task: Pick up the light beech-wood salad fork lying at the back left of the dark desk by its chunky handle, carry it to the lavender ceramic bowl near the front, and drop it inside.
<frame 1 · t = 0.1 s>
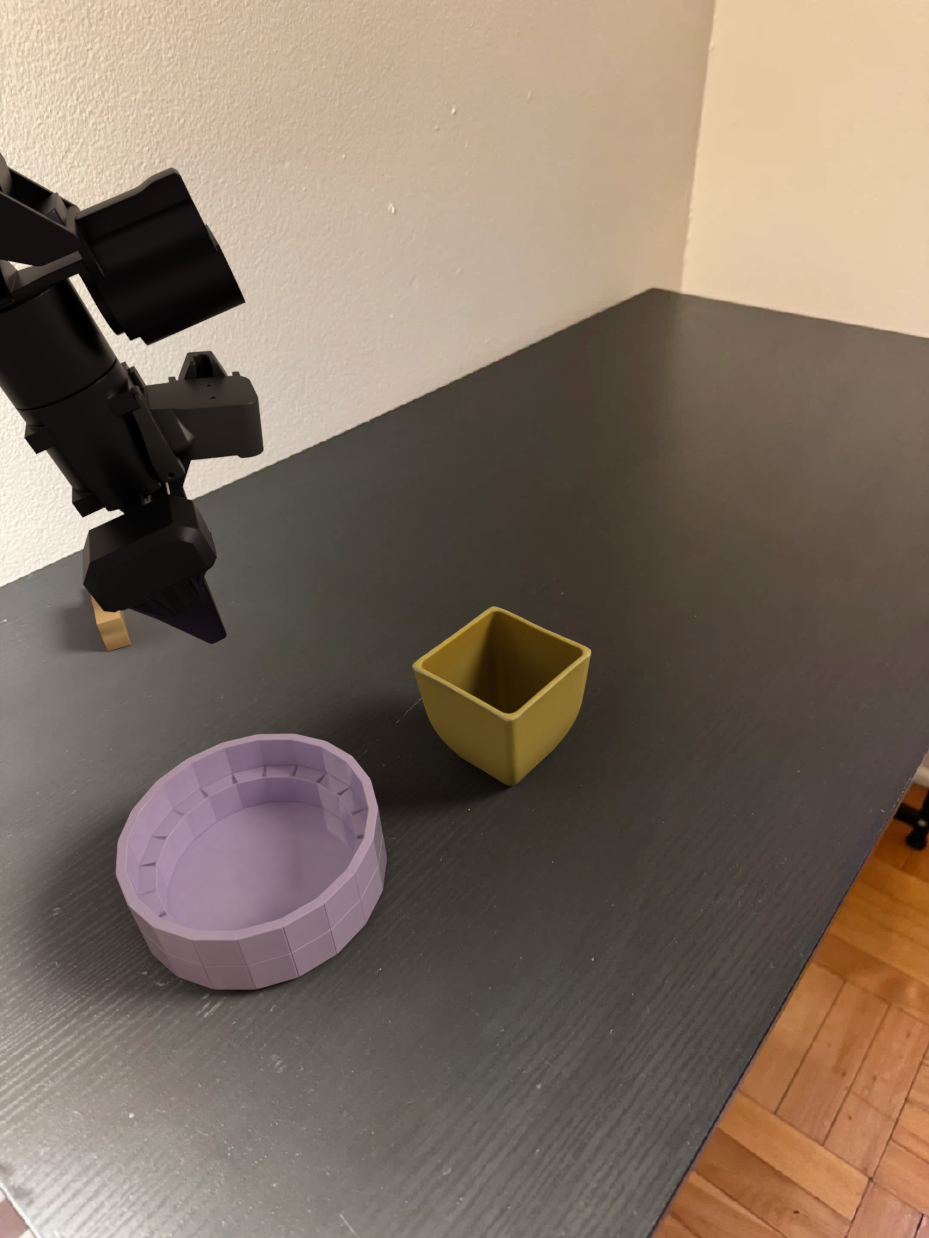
hand: (209, 598, 54), 14 cm above the table, tool pointing down, fingers open, 9 cm apart
fork: (112, 615, 78), on the table
flower pot: (505, 754, 61), on the table
bowl: (267, 880, 53), on the table
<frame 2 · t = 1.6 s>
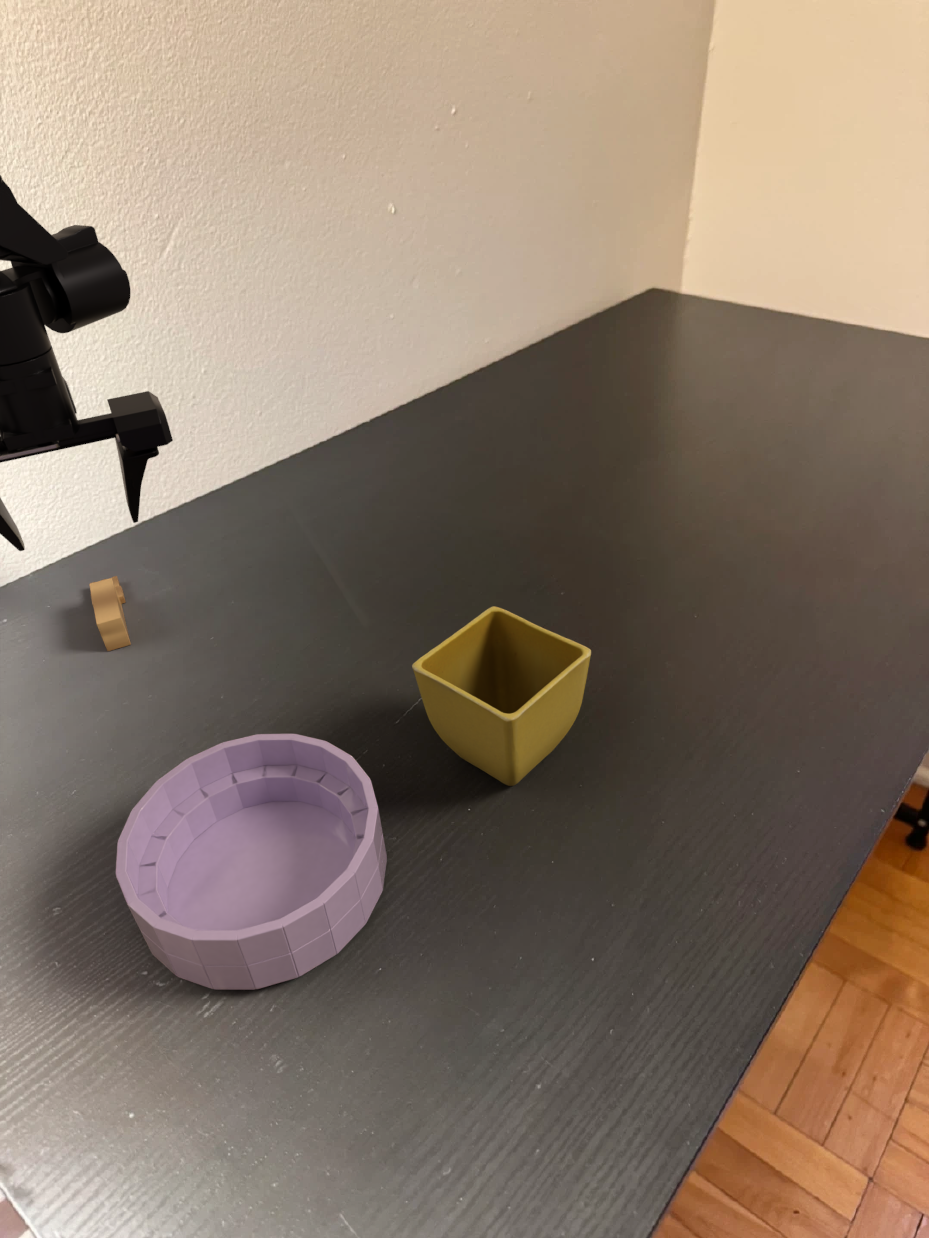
hand: (79, 534, 72), 9 cm above the table, tool pointing down, fingers open, 9 cm apart
nothing on the table moved.
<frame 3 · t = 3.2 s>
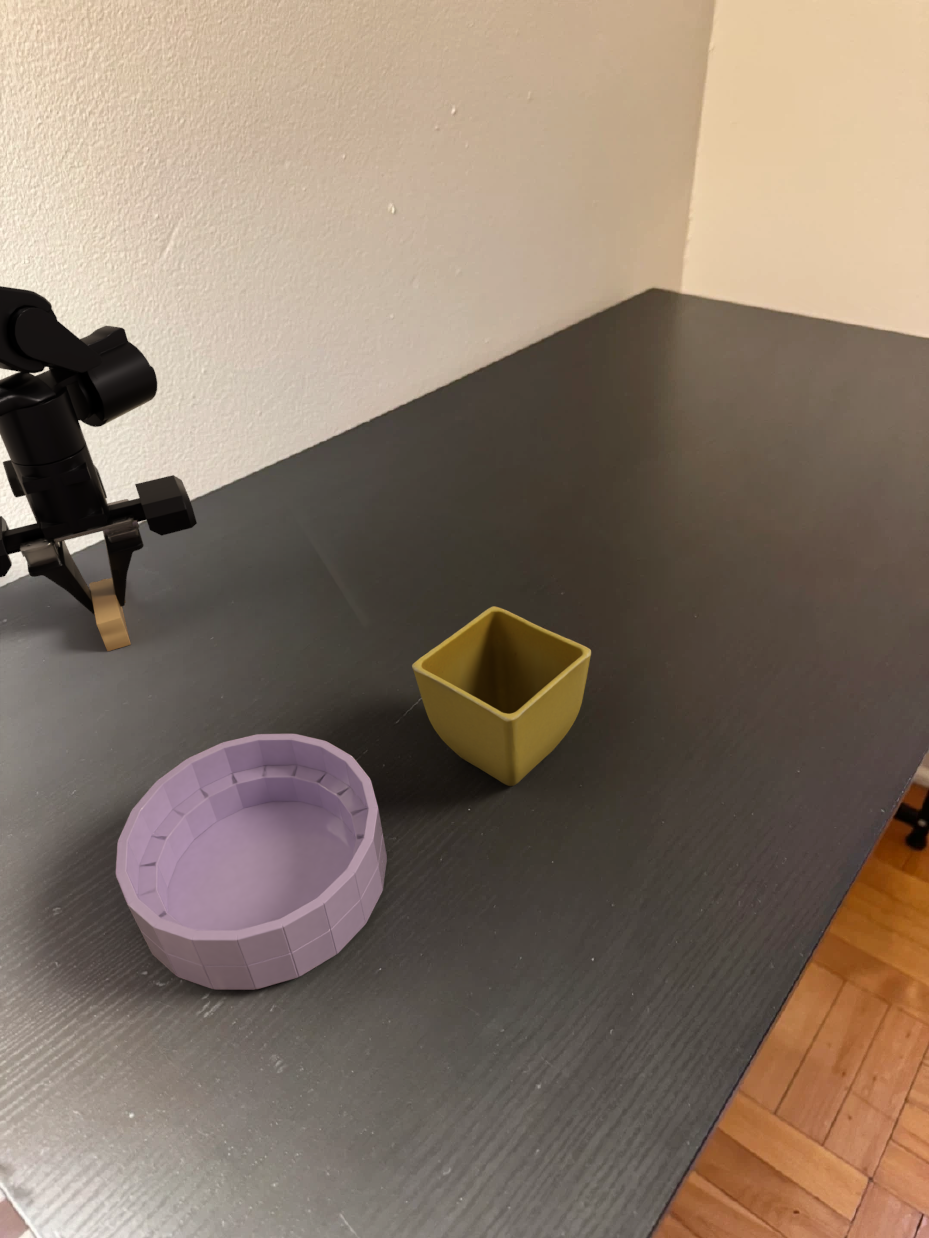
hand: (108, 607, 77), 1 cm above the table, tool pointing down, fingers closed on fork, 2 cm apart
fork: (112, 615, 78), on the table, touching gripper
everything else where it was.
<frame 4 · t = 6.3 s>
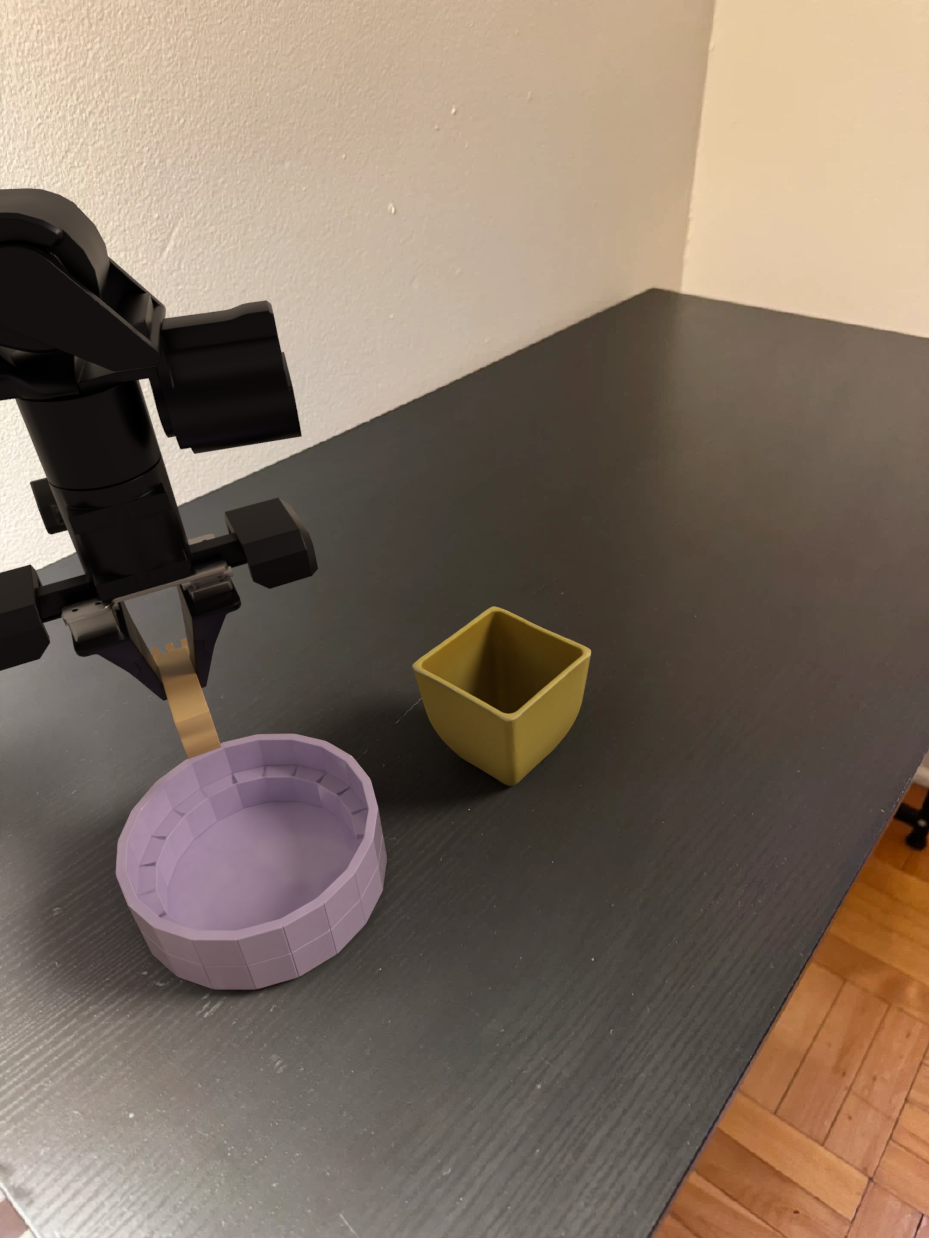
hand: (184, 689, 53), 10 cm above the table, tool pointing down, fingers closed on fork
fork: (187, 698, 54), point 9 cm above the table, touching gripper
everything else where it was.
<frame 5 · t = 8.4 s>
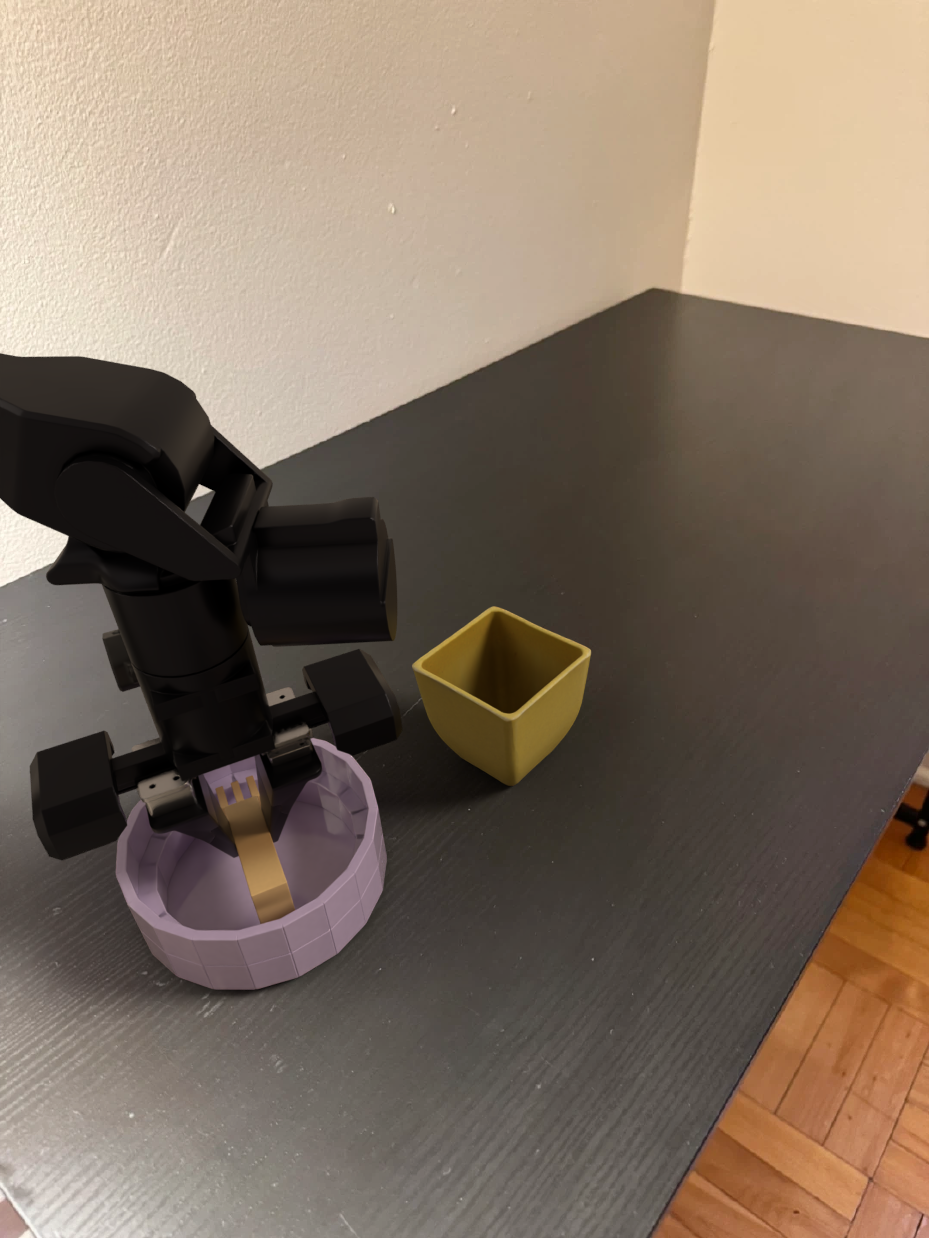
hand: (254, 843, 50), 4 cm above the table, tool pointing down, fingers closed on fork, 2 cm apart
fork: (256, 850, 52), point 3 cm above the table, touching gripper
everything else where it was.
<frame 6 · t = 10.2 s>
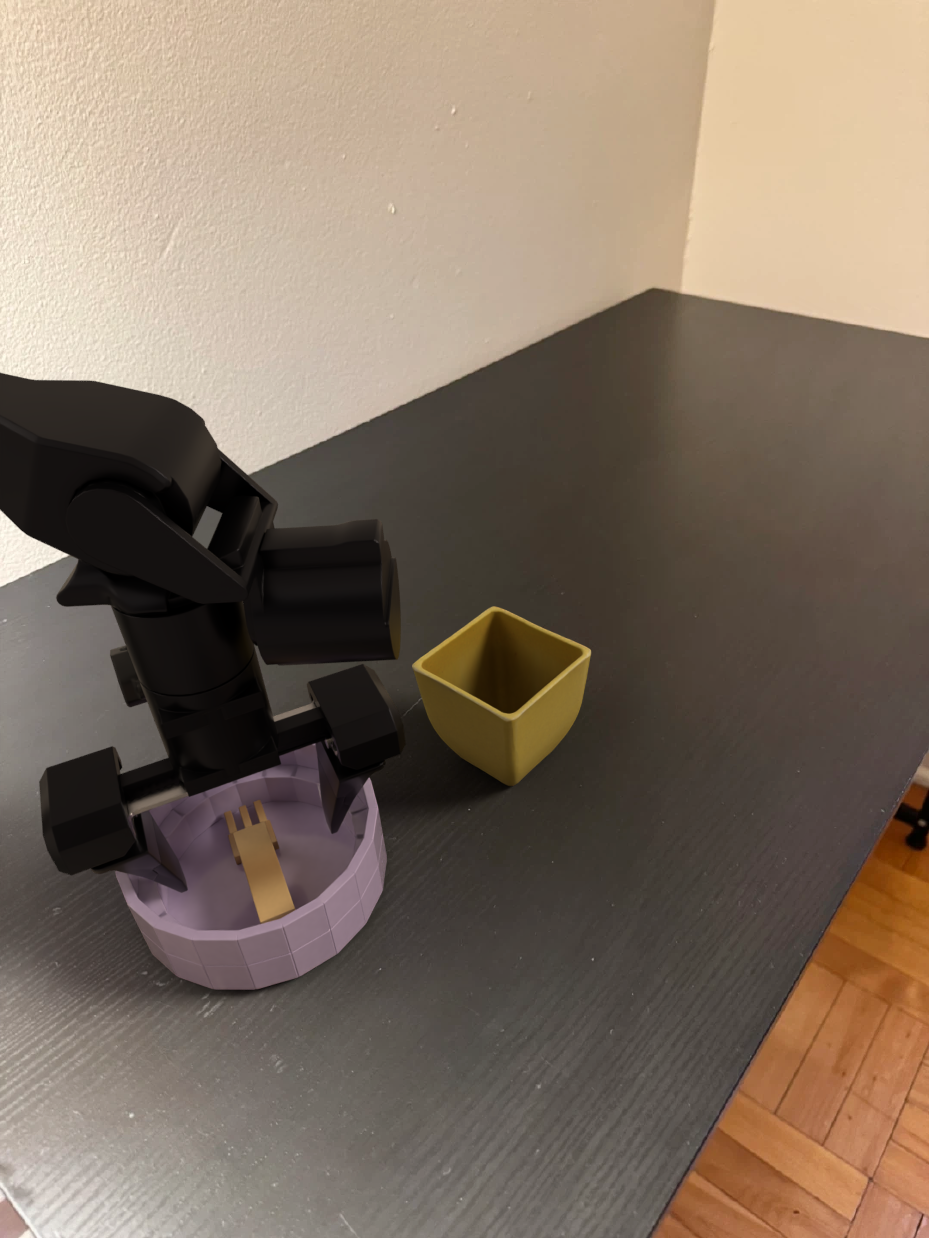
hand: (259, 855, 51), 3 cm above the table, tool pointing down, fingers open, 9 cm apart
fork: (264, 874, 53), point 1 cm above the table, touching bowl
everything else where it was.
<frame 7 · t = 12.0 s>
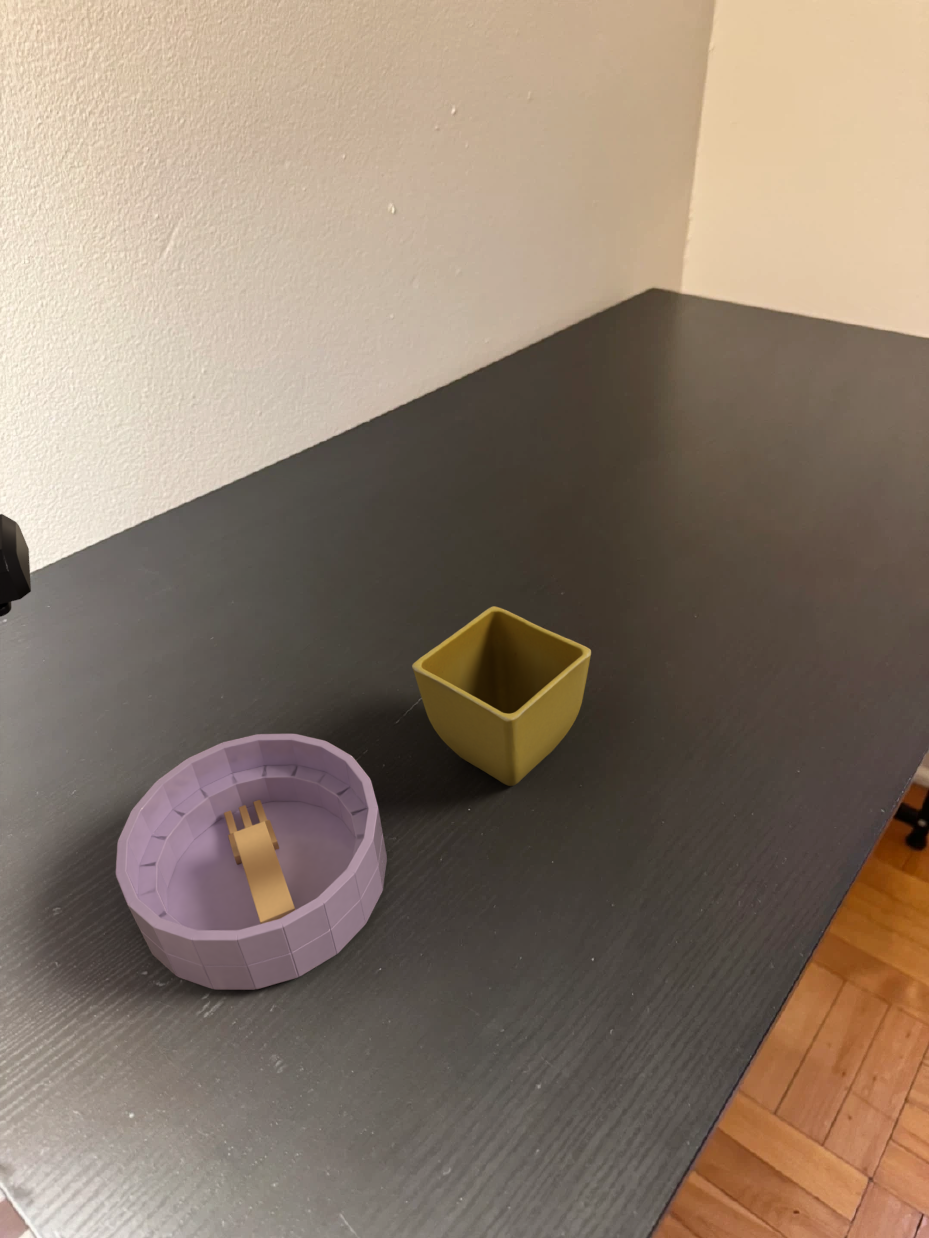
nothing on the table moved.
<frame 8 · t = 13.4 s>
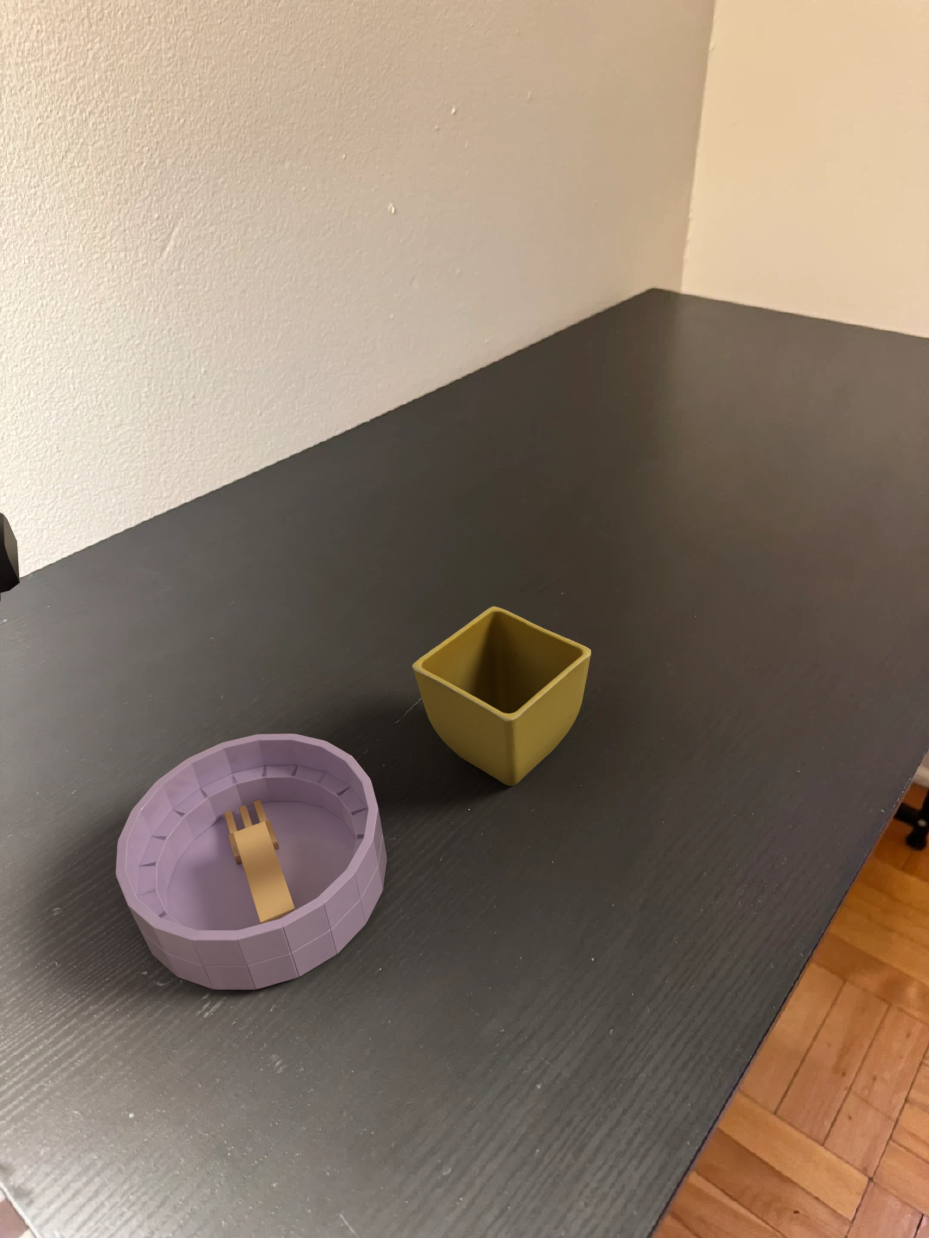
nothing on the table moved.
at the end: fork inside the target area in the bowl (0.1 cm from its centre), point 0.6 cm above the bowl's base; the gripper is holding nothing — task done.
